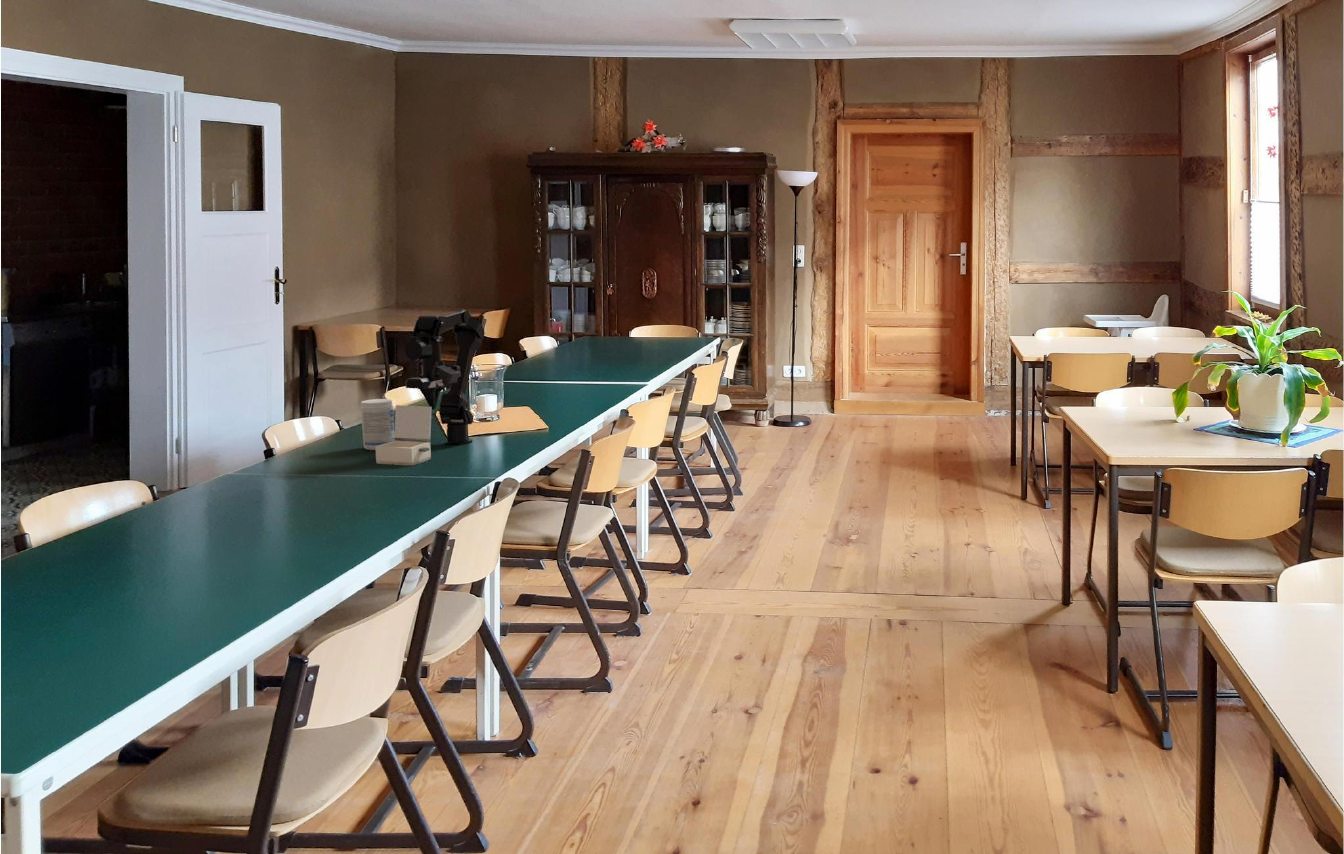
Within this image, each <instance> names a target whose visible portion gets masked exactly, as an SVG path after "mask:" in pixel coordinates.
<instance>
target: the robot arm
mask: <svg viewBox="0 0 1344 854" xmlns="http://www.w3.org/2000/svg"><path fill="white" fill-rule="evenodd" d="M450 327H452V332H453V334H454V335H455V342H456V344H457V346H458V351H457V355H456V359H455V365H452V366H447V365H446V361H445V360H442V352H441V351H442V349H441V342H443V341H444V338H443V337H442V336H441V334H443V333H444V332H446V329H447V328H450ZM485 334H486V333H485V328H484V327H483V326H482V324H481V322H480V321H479V320H478V319H476V318H475V317H474V316H472V315H471V314H470V312H469V311H468V310H466V309H459V310H458V309H454V310H452V311H449V312H446V313H442V314H439V315H419V316H418V318H417V320H416V322H415V324H414V327H413V331H412V333H411V336H410V338H409V339H410V341H408V342H407V343H406V345H405V348H404V353H405V356H406V357H407V359H408V360H411V361H418V366H419V365H421V374H419V376H418V377H409V378H407V379H406V381H405V389H418V390H419V391H420V392H421V394H422V395H423V397H424V399H425V401H426V402H427V404H428V405H427V406H428V407H432V410H433V411H434V410H436V409H437V405H438V402H439V398H440V396H441V400H440V403H439V408H438V413H439V418H440V421H441V424H442V425H446V441H444V442H443V444H446V445H456V446H461V445H465V444H469V443H473V440H472V439H469V425H472V424H473V422H474V415H473V413H472V412H471V410H470V409H469V401H468V399H467V395H466V392H467V388H468V382H469V379H470V374H471V373H470V372H471V369H472V364H473V359H474V355H475V353H476V351H477V350H478V349H479V348H480V347H481V346H482V342H483V340H484V337H485ZM444 383H446V384H450V389H449V390H448V392H447V393H445V392H444V393H442V391H443V390H444V389H445V388H447V387H448V386H447V385H444ZM441 393H442V395H441Z"/></svg>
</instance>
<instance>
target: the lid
mask: <svg viewBox="0 0 1344 854" xmlns="http://www.w3.org/2000/svg"><path fill="white" fill-rule="evenodd" d="M394 416H395V417H394V433H395V436H394V437H395V438H394V439H395V441H415V442H430V443H431V435H432V434H431V433H432V432H431V429H432V428H431V427H432V407H430V406H428V405H427V406H426V405H425V406H423V405H422V406H421V405H404V404H403V405H401V404H396V405H395V415H394Z"/></svg>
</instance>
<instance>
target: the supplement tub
mask: <svg viewBox="0 0 1344 854" xmlns="http://www.w3.org/2000/svg"><path fill="white" fill-rule="evenodd" d="M360 413H361V428H362V443H363V448H364V449H365V450H369V451H376V448H375V446H379V445H382V444H385V443H388V442H391V441H396V440H395V439H394V438H395V437H394V436H395V417H394V408H393V400H392V399H388V398H375V399H365V400H362V401H361V402H360Z"/></svg>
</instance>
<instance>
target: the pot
mask: <svg viewBox="0 0 1344 854" xmlns="http://www.w3.org/2000/svg"><path fill="white" fill-rule="evenodd" d="M375 448H376V450H375V460H376V461H375V463H376V464H377V465H379V464H381V465H392V464H393V465H397V466H410V467H411V466H412V467H413V466H415V465H418V464H421V463H424V462H427V461H430V460H431V459H432V454H431V453H432V451H431V441H430V442H427V441H408V440H395V441H391V442H388V443H385V444H382V445H379V446H375Z"/></svg>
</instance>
